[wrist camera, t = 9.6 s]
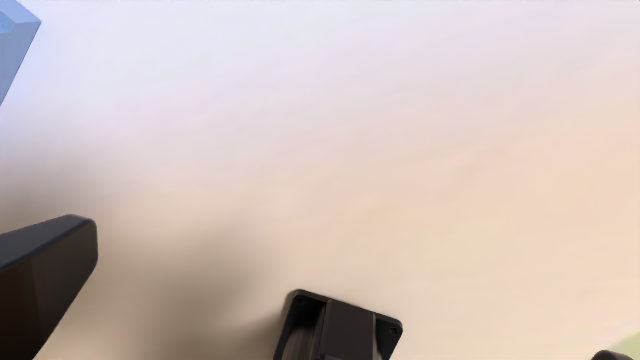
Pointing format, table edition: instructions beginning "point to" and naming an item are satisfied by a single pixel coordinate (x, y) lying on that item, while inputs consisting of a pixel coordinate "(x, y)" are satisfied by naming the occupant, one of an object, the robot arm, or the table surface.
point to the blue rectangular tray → (14, 40)
